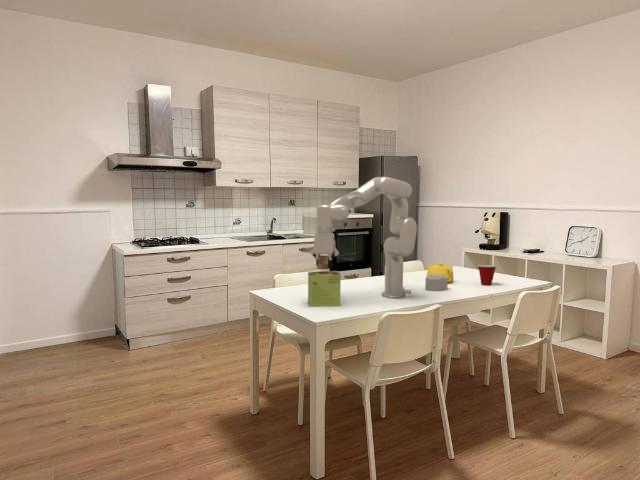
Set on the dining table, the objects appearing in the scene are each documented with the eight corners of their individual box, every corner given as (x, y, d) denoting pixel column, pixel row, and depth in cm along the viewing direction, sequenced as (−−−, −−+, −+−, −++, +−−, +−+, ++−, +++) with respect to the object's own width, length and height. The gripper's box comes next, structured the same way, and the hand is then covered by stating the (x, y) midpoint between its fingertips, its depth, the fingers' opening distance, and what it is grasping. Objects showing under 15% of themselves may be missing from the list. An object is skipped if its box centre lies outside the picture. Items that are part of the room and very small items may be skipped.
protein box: (340, 306, 212) (341, 274, 211) (308, 306, 211) (308, 274, 210) (338, 301, 223) (338, 270, 221) (307, 301, 221) (307, 271, 220)
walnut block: (330, 267, 217) (330, 255, 216) (327, 269, 212) (327, 257, 211) (320, 267, 218) (320, 255, 218) (317, 268, 213) (317, 256, 213)
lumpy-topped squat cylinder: (449, 289, 253) (450, 274, 252) (435, 292, 245) (435, 277, 244) (435, 286, 261) (435, 272, 260) (420, 289, 253) (421, 274, 252)
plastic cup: (491, 282, 274) (492, 263, 272) (498, 286, 263) (499, 266, 262) (473, 282, 273) (474, 263, 272) (480, 286, 263) (481, 266, 261)
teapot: (419, 279, 282) (420, 261, 281) (433, 278, 289) (433, 260, 288) (444, 285, 266) (445, 265, 265) (458, 283, 273) (458, 264, 271)
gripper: (343, 230, 214) (342, 267, 216) (310, 229, 219) (310, 265, 221) (339, 231, 207) (338, 269, 209) (305, 230, 212) (305, 267, 214)
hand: (324, 267), depth 215 cm, fingers closed on walnut block, 5 cm apart
